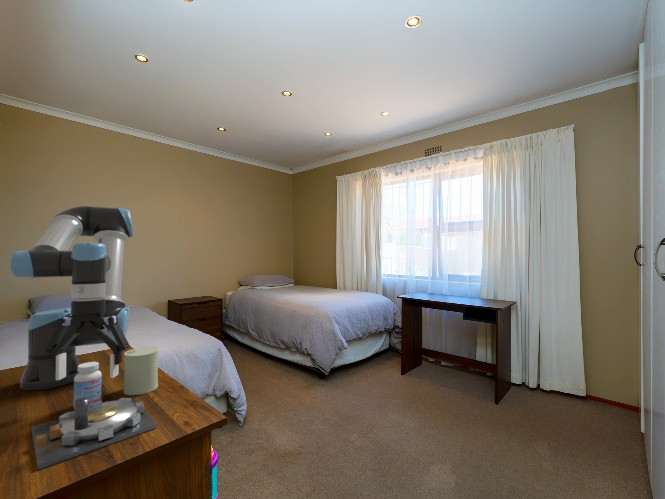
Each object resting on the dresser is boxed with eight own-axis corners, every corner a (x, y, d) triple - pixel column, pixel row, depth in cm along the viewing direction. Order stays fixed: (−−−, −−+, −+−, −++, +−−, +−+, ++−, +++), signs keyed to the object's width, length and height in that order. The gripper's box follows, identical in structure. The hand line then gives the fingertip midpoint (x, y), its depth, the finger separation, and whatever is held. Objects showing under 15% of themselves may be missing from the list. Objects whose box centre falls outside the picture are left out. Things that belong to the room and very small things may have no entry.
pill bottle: (86, 412, 84) (86, 369, 85) (67, 409, 86) (68, 367, 86) (107, 401, 90) (107, 361, 91) (89, 399, 92) (89, 360, 92)
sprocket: (26, 443, 68) (26, 406, 68) (93, 404, 86) (93, 374, 86) (108, 446, 67) (109, 408, 68) (158, 405, 85) (159, 376, 86)
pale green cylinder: (127, 385, 102) (127, 347, 102) (160, 381, 105) (160, 344, 105) (119, 397, 93) (120, 355, 93) (155, 392, 96) (156, 352, 97)
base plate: (31, 431, 75) (31, 422, 75) (134, 401, 90) (134, 394, 90) (37, 470, 62) (37, 458, 62) (156, 427, 77) (156, 418, 77)
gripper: (27, 301, 83) (26, 384, 83) (129, 299, 86) (128, 380, 85) (50, 298, 91) (49, 374, 90) (143, 296, 93) (142, 370, 93)
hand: (87, 377), depth 88 cm, fingers open, 13 cm apart
